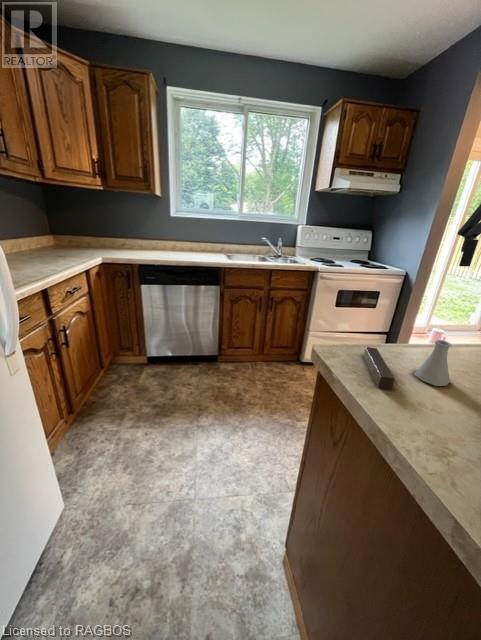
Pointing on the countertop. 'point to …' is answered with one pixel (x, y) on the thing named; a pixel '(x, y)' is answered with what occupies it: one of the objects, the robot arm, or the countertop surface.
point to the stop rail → (378, 368)
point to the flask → (436, 365)
